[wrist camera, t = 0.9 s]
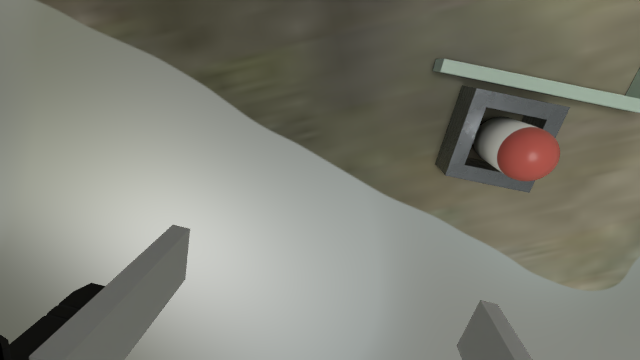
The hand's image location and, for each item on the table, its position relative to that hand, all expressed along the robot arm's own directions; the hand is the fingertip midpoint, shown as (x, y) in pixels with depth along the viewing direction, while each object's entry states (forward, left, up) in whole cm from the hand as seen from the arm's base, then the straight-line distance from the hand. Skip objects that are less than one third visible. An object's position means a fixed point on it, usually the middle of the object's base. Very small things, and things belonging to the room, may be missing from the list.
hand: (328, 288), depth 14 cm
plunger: (-5, +16, -22) cm, 28 cm away
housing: (-5, +16, -25) cm, 30 cm away
